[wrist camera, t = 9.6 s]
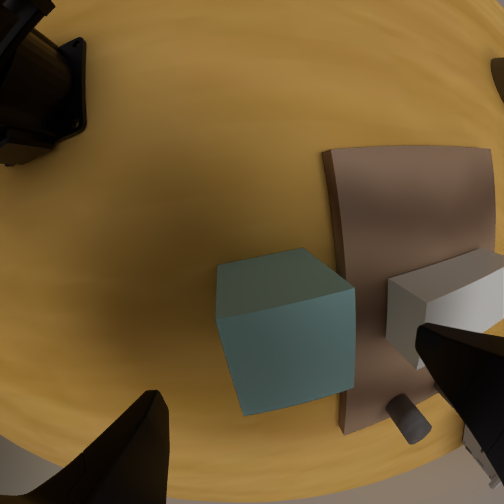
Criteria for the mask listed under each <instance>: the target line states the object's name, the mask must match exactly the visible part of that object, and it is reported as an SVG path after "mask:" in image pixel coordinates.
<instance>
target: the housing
mask: <svg viewBox="0 0 504 504" xmlns="http://www.w3.org/2000/svg"><path fill="white" fill-rule="evenodd" d="M503 318H504V256H503V255H500V254H497V253H495V252H492V251H489V250H486V249H483V248H479V249H477V250H474V251H471V252H468V253H466V254H463V255H460V256H457V257H454V258H451V259H448V260H446V261H443V262H440V263H437V264H434V265H430V266H427V267H424V268H421V269H418V270H415V271H412V272H408V273H405V274H402V275H399V276H395V277H392V278H388V305H387V326H386V340H387V341H388V342H389V343H390V344H391V345H392V346H393V347H394V348H395V349H396V350H397V351H398V352H399V353H400V354H401V355H402V356H403V357H404V358H405V359H406V360H407V361H408V362H409V363H410V364H411V365H412V366H413V367H414V368H415V369H416V370H418V369H420V368H422V367H424V366H425V365H424V363H423V361H422V360H421V358H420V356H419V355H418V353H417V351H416V349H415V339H416V332H417V328H418V326H420V325H422V324H424V323H427V322H428V323H433V324H438V325H443V326H448V327H453V328H458V329H463V330H468V331H473V332H478V333H483V332H484V331H486V330H487V329H489V328H490V327H492V326H493V325H495V324H496V323H497V322H499V321H500V320H501V319H503Z"/></svg>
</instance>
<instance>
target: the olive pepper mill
mask: <svg viewBox="0 0 504 504" xmlns="http://www.w3.org/2000/svg"><path fill="white" fill-rule="evenodd" d="M491 72H492V75H493V79H494V82H495V85H496V88H497V90H498V92H499V94H500V97H501V99H502V100H503V102H504V58H494V59H493V60H491Z"/></svg>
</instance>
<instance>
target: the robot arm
mask: <svg viewBox="0 0 504 504" xmlns="http://www.w3.org/2000/svg"><path fill="white" fill-rule="evenodd" d="M54 8H55V5H54V4H53V2H52V1H51V0H0V164H5V166H7V167H11V166H14V165H15V164H25V163H27V162H29V161H31V160H32V159H34V158H36V157H38V156H40V155H42V154H44V153H46V152H48V151H50V150H52V149H53V147H54V146H55V144H56V143H58V142H60V141H62V140H64V139H67V138H69V137H71V136H73V135H76V134H78V133H80V132H82V131H83V130H84V128H85V126H86V108H85V48H86V42H85V40H84V39H83V38H82V37H78V38H76V39H73V40H71V41H69V42H67V43H66V44H64V45H62V46H60V47H58V46H57V45H56V44H54V43H53V42H52V41H51V40H49V39H48V38H47V37H45V36H44V35H43V34H42V33H40V32H39V31H38V30H36V29H35V28H34V27H35V26H36V25H37V24H38V23H39V21H40V20H41V19H42V18H43V17H44V16H47V15H48V14H49V13H50V12H51V11H52V10H53V9H54ZM77 44H79V45H78V46H77V47H76V45H77ZM78 120H79V125H78V126H77V127H76V128H75V124H76V122H77V121H78ZM415 349H416V351H417V353H418V355H419V356H420V358H421V360H422V361H423V363H424V365H425V366H426V368H427V370H428V371H429V373H430V375H431V376H432V378H433V379H434V381H435V382H436V384H437V385H438V386H439V388H440V389H441V390H442V392H443V393H444V394H445V396H446V397H447V399H448V400H449V401H450V403H451V404H452V406H453V407H454V408H455V410H456V411H457V413H458V414H459V415H460V417H461V418H462V420H463V421H464V423H465V424H466V426H467V427H468V429H469V430H470V432H471V433H472V435H473V436H474V438H475V439H476V441H477V442H478V444H479V445H480V447H481V448H482V450H483V452H484V453H485V454H486V457H487V458H488V460H489V462H490V463H491V465H492V467H493V468H494V470H495V472H496V473H497V475H498V477H499V478H500V480H501V482H502V484H503V486H504V337H500V336H494V335H489V334H483V333H478V332H473V331H468V330H463V329H458V328H453V327H448V326H443V325H438V324H433V323H428V322H427V323H424V324H422V325H420V326H418V328H417V332H416V339H415ZM169 453H170V441H169V410H168V407H167V405H166V403H165V401H164V399H163V397H162V395H161V393H160V392H159V391H158V390H147V391H145V392H144V393H143V394H142V395H141V396H140V397H139V398H138V399H137V400H136V401H135V402H134V403H133V404H132V405H131V406H130V407H129V408H128V409H127V410H126V411H125V412H124V413H123V414H122V415H121V416H120V417H119V418H118V419H116V420H115V421H114V422H113V423H112V424H111V425H110V426H109V427H108V428H107V429H106V430H105V431H104V432H103V433H102V434H101V435H100V436H99V437H98V438H97V439H96V440H94V441H93V442H92V443H91V444H90V445H89V446H88V447H87V448H86V449H85V450H84V451H83V453H80V454H79V455H78V456H77V457H76V458H75V459H74V460H73V461H72V462H70V463H69V464H68V465H67V466H66V467H65V468H63V469H62V470H61V471H59V472H58V473H57V474H56V475H54V476H53V477H51V478H50V479H49V480H47V481H46V482H44V483H43V484H41V485H40V486H39V487H37V488H36V489H34V490H33V491H31V492H29V493H27V494H24V495H18V496H9V495H0V504H166V494H167V479H168V466H169Z"/></svg>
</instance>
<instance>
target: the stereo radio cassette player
mask: <svg viewBox="0 0 504 504" xmlns="http://www.w3.org/2000/svg"><path fill="white" fill-rule="evenodd" d="M463 444H464V445H465V447H466V449H467V450H468V451H469V453H470V454H471V455H472V456H473V457H474V459H475V460H476V461H477V462H478V464H479V465H480V466H481V467H482V469H483V470H484V471H485V472H486V474H487V475H488V476H489V477H490V479H491V480H492V481H491V482H490V483H489V486H490V488H491V489H495V488H496V487H497V486H498V485H500V484H501V483H502V482H501V480H500V478H499V477H498V475H497V473H496V472H495V470H494V468H493V467H492V465H491V463H490V462H489V460H488V458H487V457H486V454H485V453H484V452H483V450H482V448H481V447H480V445H479V444H478V442H477V441H476V439H475V438H474V436H473V435H472V433H471V432H470V430H469V429H468V427H467V426H466V424H465V429H464V437H463Z"/></svg>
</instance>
